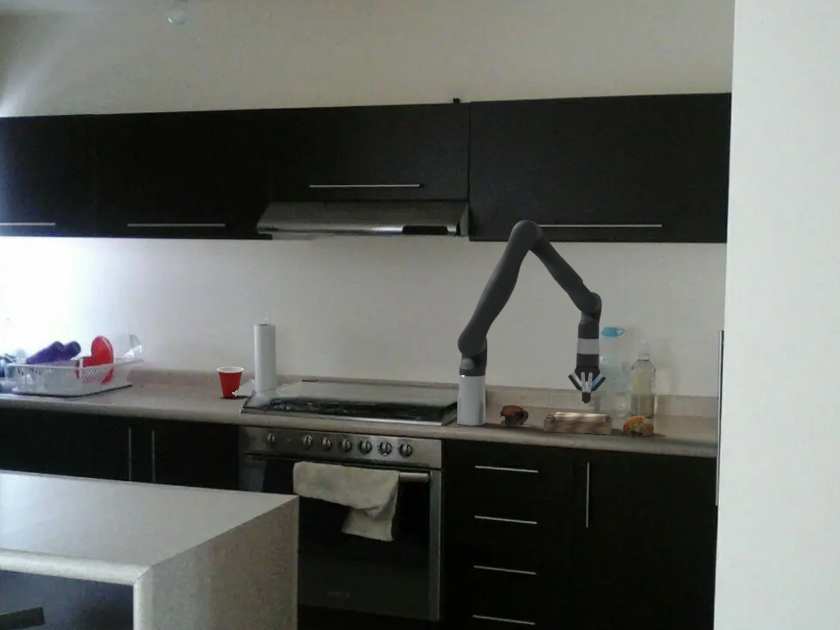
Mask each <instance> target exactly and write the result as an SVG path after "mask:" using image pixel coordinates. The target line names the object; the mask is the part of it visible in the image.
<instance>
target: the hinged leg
mask: <svg viewBox="0 0 840 630" xmlns="http://www.w3.org/2000/svg"><path fill="white" fill-rule="evenodd" d="M610 417H611V416H610V414H606V415H552V416H551V418H555V420H575V421H595V422H610ZM551 418H550V419H551Z"/></svg>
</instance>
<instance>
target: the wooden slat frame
mask: <svg viewBox="0 0 840 630" xmlns="http://www.w3.org/2000/svg"><path fill="white" fill-rule="evenodd" d="M552 415H607V414H605V413H604V414H603V413H584V412H583V413H581V412H580V413H579V412H564V411H563V412H562V411H561V412H560V411H559V412H558V411H557V412H556V413H547V415H546V416H545V418H544V419H543V432H549V433H550V432H551V433H565V434H566V433H567V434H568V433H569V434H584V433H590V435H603V434H606V436H607V435H608V436H611V433H612V430H613V416H610V422H595V421H575V420H555V418H551V416H552ZM550 418H551V419H550Z"/></svg>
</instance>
